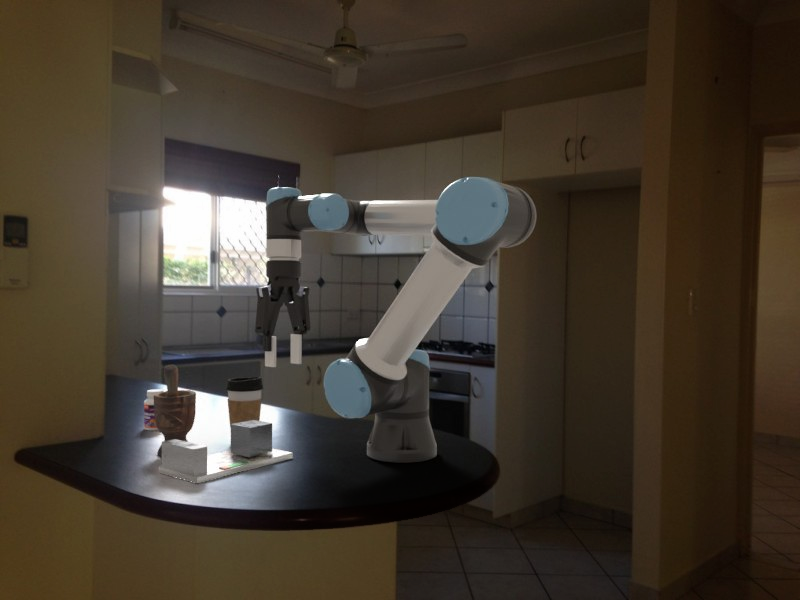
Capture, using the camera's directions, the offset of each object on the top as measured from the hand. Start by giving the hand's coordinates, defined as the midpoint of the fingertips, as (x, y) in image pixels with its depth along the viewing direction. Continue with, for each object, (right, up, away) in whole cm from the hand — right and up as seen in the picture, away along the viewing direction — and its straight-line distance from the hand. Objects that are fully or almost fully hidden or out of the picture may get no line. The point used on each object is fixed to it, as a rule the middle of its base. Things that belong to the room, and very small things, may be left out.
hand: (283, 364), depth 151 cm
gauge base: (-9, -19, -12) cm, 24 cm away
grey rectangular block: (-5, -18, -7) cm, 20 cm away
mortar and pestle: (-22, -19, -4) cm, 30 cm away
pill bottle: (-36, -19, +23) cm, 47 cm away
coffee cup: (-11, -19, +9) cm, 24 cm away
